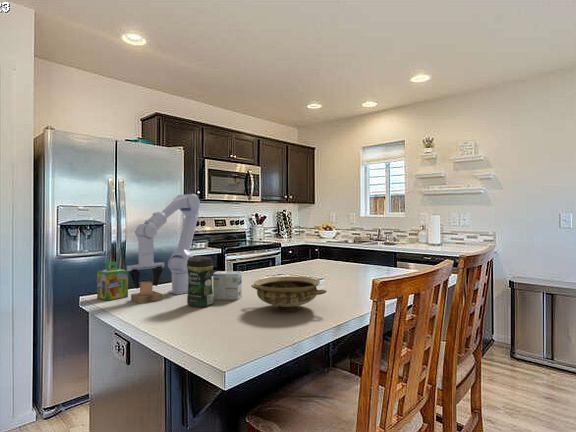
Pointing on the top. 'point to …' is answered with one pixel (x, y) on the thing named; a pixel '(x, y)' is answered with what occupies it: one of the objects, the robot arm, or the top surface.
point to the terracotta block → (146, 288)
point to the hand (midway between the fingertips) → (146, 286)
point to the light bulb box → (227, 285)
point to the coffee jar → (200, 281)
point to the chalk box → (112, 283)
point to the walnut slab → (146, 297)
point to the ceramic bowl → (287, 291)
